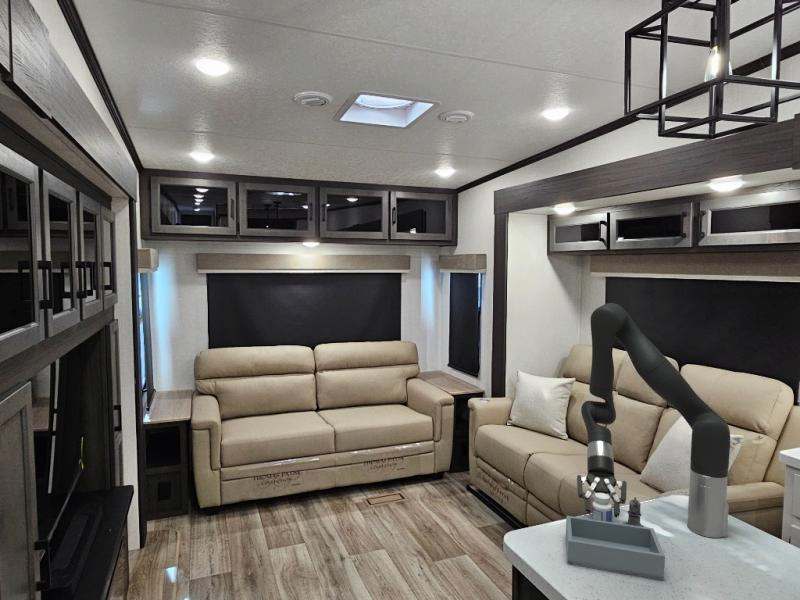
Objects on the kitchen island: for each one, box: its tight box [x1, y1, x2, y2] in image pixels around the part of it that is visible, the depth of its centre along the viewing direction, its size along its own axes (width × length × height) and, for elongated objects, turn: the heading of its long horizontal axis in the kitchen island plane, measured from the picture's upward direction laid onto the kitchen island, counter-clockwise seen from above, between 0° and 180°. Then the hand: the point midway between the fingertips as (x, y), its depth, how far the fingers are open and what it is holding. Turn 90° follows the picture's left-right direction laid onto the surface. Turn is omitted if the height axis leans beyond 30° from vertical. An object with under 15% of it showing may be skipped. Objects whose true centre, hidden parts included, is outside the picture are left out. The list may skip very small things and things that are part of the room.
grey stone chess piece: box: [622, 497, 645, 527], centre depth 140 cm, size 6×6×12 cm
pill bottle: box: [591, 492, 613, 522], centre depth 146 cm, size 6×5×10 cm
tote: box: [565, 515, 666, 581], centre depth 131 cm, size 22×14×6 cm, turn 74°
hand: (602, 514), depth 144 cm, fingers open, 6 cm apart
